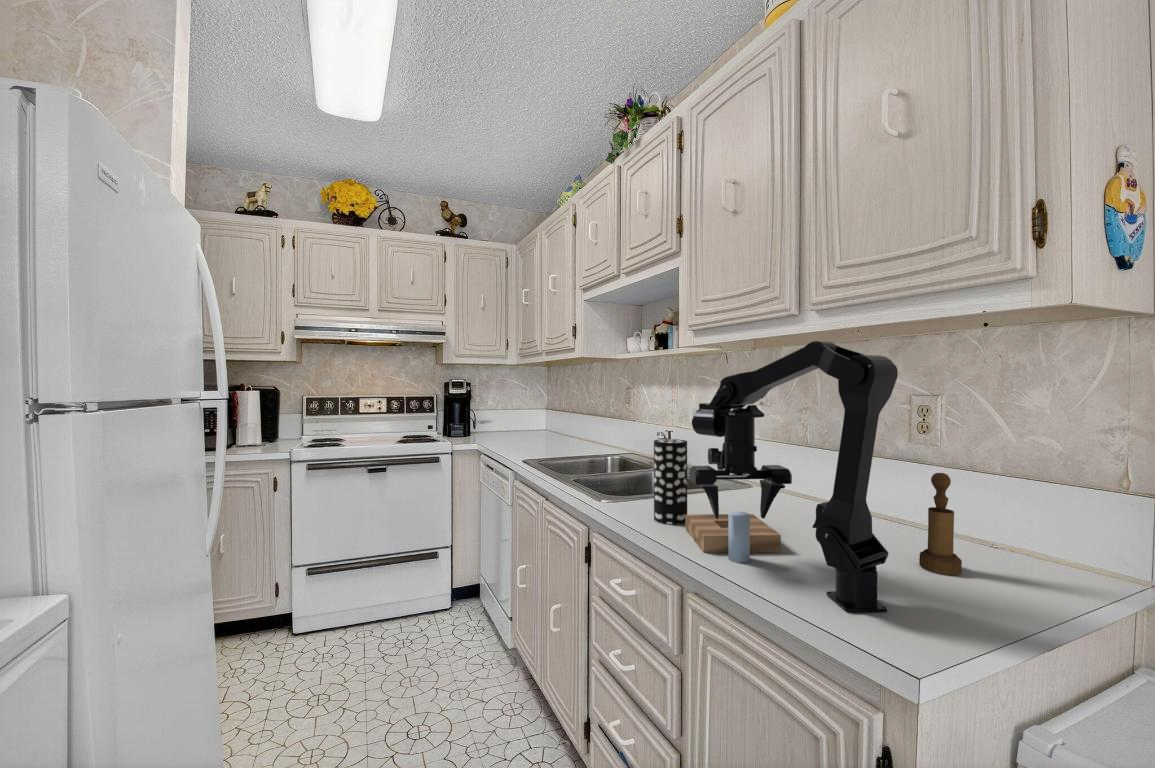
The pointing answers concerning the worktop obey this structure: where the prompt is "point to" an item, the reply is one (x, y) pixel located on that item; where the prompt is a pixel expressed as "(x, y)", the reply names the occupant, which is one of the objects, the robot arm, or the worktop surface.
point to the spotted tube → (670, 481)
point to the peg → (739, 537)
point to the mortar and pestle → (940, 533)
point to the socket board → (716, 533)
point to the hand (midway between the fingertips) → (739, 518)
